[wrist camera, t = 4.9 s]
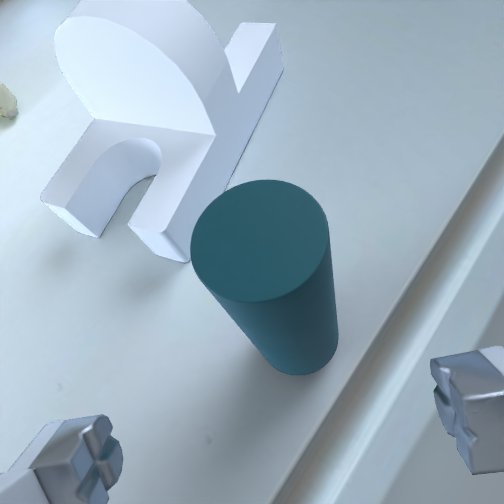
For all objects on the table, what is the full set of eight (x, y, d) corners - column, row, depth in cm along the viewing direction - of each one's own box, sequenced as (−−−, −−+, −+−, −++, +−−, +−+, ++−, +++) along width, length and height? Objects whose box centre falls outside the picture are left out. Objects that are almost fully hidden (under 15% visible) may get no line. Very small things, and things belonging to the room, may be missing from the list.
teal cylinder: (346, 373, 19) (342, 289, 10) (266, 384, 20) (189, 314, 10) (331, 298, 21) (315, 166, 11) (259, 310, 22) (189, 193, 12)
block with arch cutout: (181, 62, 34) (116, -91, 25) (284, 68, 31) (254, -107, 21) (72, 230, 27) (-74, 110, 18) (188, 264, 24) (81, 136, 14)
